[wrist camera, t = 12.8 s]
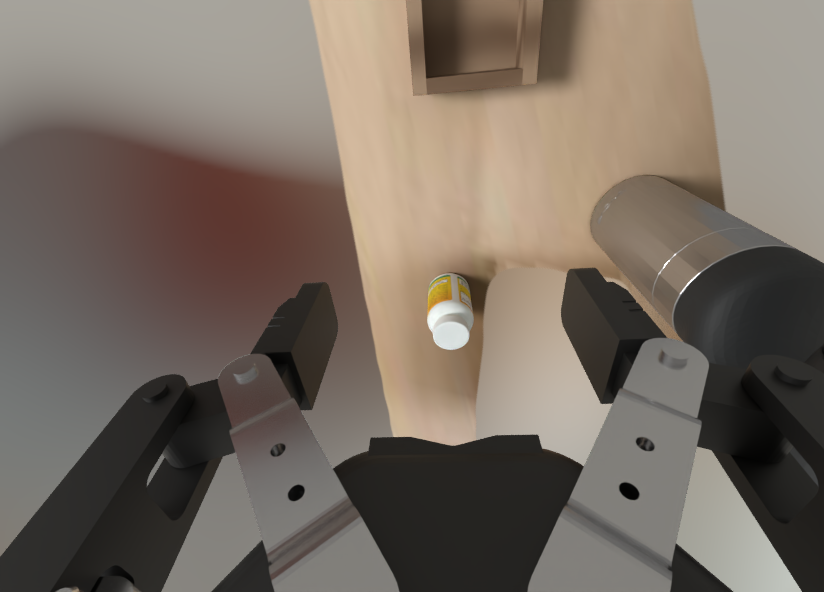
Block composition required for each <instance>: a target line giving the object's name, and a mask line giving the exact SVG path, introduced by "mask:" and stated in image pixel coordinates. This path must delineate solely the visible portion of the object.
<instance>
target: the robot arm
mask: <svg viewBox="0 0 824 592" xmlns="http://www.w3.org/2000/svg"><path fill="white" fill-rule="evenodd" d="M591 233H592V236H593V238H594V240H595V241H596V243H597V244H598V245H599V246H600V248H601V249H602V250H603V251H604V252H605V253H606V254H607V255H608V257H609V258H610V259H611V260H612V261H613V262H614V264H615V265H616V266H617V267H618V268H619V269H620V270H621V271H622V273H623V274H624V275H625V276H626V277H627V278H628V279H629V280H630V282H631V283H632V284H633V285H634V286H635V287H636V288H637V289H638V291H639V292H640V293H641V294H642V295H643V296H644V297H645V298H646V300H647V301H648V302H649V303H650V304H651V305H652V306H653V307H654V309H655V310H656V311H657V312H658V313H659V314H660V315H661V316H662V317H663V318H664V320H665V321H666V322H667V323H668V324H669V325H670V326H671V327H672V329H673V330H674V331H675V332H676V333H677V334H678V336H679V337H680V338H681V339H682V340H683V341H684V342H681V341H678V340H675V339H669V338H667V337H666V336H665V335H664V334H663V332H662V331H661V330H660V329H659V328H658V326H657V325H656V324H655V323H654V322H653V320H652V319H651V318H650V317H649V316H648V314H647V313H646V312H645V311H643V308H642V307H641V306H640V305H639V304H638V303H636V300H635V299H634V298H633V296H632V295H631V294H630V293H629V292H628V290H626V289H624V288H622V287H621V286H619V285H617V284H616V283H614V282H606V280H605V279H604V278H603V276H602V275H601V274H600V273H599V271H598V270H597V269H596V268H579V269H570V270H569V271H568V273H567V277H566V283H565V289H564V295H563V302H562V308H561V317H562V323H563V327H564V329H565V331H566V333H567V335H568V337H569V339H570V341H571V343H572V345H573V347H574V349H575V351H576V353H577V355H578V357H579V359H580V362H581V364H582V366H583V368H584V370H585V372H586V374H587V376H588V378H589V380H590V382H591V384H592V386H593V388H594V390H595V392H596V394H597V396H598V398H599V400H600V403H601V404H609V403H610V404H611V403H613V404H612V407H611V409H610V411H609V413H608V415H607V418H606V420H605V422H604V424H603V426H602V428H601V431H600V433H599V435H598V437H597V439H596V441H595V444H594V446H593V448H592V450H591V452H590V455H589V457H588V459H587V461H586V463H585V465H584V466H582V465H581V464H579V463H578V462H576V461H574V460H572V459H570V458H568V457H566V456H564V455H561V454H559V453H556V452H553V451H550V450H547V449H542V447H541V444H540V440H539V436H538V435H499V436H498V435H496V436H492V437H488V438H484V439H480V440H476V441H472V442H468V443H465V444H461V445H456V446H450V445H445V444H440V443H436V442H431V441H427V440H422V439H417V438H413V437H387V438H386V437H382V438H371V439H370V446H369V451H367V452H363V453H360V454H358V455H356V456H353V457H351V458H349V459H347V460H345V461H344V462H342V463H341V464H339V465H338V466H336V467H335V468H332V466H331V465H330V463H329V461H328V459H327V457H326V455H325V454H324V452H323V450H322V448H321V447H320V445H319V443H318V441H317V439H316V437H315V435H314V434H313V432H312V430H311V428H310V426H309V425H308V423H307V421H306V419H305V417H304V415H303V414H302V412H301V410H312V408H313V405H314V402H315V399H316V396H317V394H318V391H319V388H320V384H321V382H322V379H323V376H324V373H325V370H326V367H327V364H328V361H329V358H330V355H331V351H332V349H333V346H334V343H335V340H336V337H337V332H338V322H337V317H336V313H335V309H334V305H333V302H332V297H331V293H330V289H329V286H328V284H327V283H326V282H319V283H304V284H303V285H302V287H301V289H300V290H299V292H298V294H297V296H296V298H290V299H288V300H287V301H286V302H285V303H283V304H282V305H281V306H280V307H278V309H277V311H276V312H275V314H274V316H273V319H271V321H270V322H269V324H268V328H266V329H265V331H264V332H263V334H262V336H261V337H260V339H259V341H258V342H257V344H256V346H255V347H254V349H253V350H252V352H251V354H250V355H246V356H242V357H240V358H238V359H236V360H234V361H232V362H231V363H229V364H228V365H227V366H226V367H225V368H224V369H223V370H222V371H221V373H220V375H219V377H218V379H215V380H211V381H208V382H204V383H200V384H196V385H193V386H189V385H188V383H187V381H186V380H185V378H184V377H182V376H180V375H176V374H171V375H165V376H161V377H158V378H156V379H153V380H151V381H149V382H148V383H146V384H144V385H142V386H141V387H140V388H139V389H137V390H136V391H135V392H134V393H133V394H132V395H131V396H130V398H129V399H128V400H127V401H126V403H125V404H124V405H123V406H122V407H121V409H120V410H119V411H118V412H117V414H116V415H115V416H114V417H113V418H112V420H111V421H110V422H109V423H108V425H107V426H106V427H105V428H104V430H103V431H102V432H101V433H100V434H99V436H98V437H97V438H96V440H95V441H94V442H93V443H92V444H91V446H90V447H89V448H88V449H87V451H86V452H85V453H84V454H83V456H82V457H81V458H80V459H79V461H78V462H77V463H76V464H75V465H74V467H73V468H72V469H71V470H70V471H69V473H68V474H67V475H66V477H65V478H64V479H63V480H62V481H61V483H60V484H59V485H58V486H57V487H56V489H55V490H54V491H53V492H52V494H51V495H50V496H49V497H48V499H47V500H46V501H45V502H44V503H43V505H42V506H41V507H40V508H39V510H38V511H37V512H36V513H35V515H34V516H33V517H32V518H31V520H30V521H29V522H28V523H27V525H26V526H25V527H24V528H23V529H22V531H21V532H20V533H19V534H18V536H17V537H16V538H15V539H14V540H13V542H12V543H11V544H10V546H9V547H8V548H7V549H6V551H5V552H4V553H3V554H2V555H1V557H0V592H161V591H162V589H163V587H164V584H165V582H166V580H167V578H168V576H169V573H170V571H171V569H172V567H173V565H174V563H175V560H176V558H177V556H178V554H179V552H180V549H181V547H182V545H183V543H184V541H185V538H186V536H187V534H188V532H189V530H190V527H191V525H192V523H193V521H194V519H195V516H196V514H197V512H198V510H199V507H200V505H201V503H202V501H203V499H204V496H205V494H206V492H207V490H208V488H209V486H210V483H211V481H212V479H213V477H214V475H215V473H216V470H217V468H218V466H219V464H220V462H221V459H222V457H223V456H225V455H229V454H232V453H235V452H236V456H237V459H238V462H239V465H240V468H241V472H242V475H243V478H244V481H245V485H246V488H247V492H248V495H249V498H250V501H251V505H252V508H253V511H254V514H255V518H256V521H257V524H258V527H259V531H260V534H261V537H262V541H261V542H260V543H259V544H258V545H257V546H256V547H255V548H254V549H253V550H252V551H251V552H250V553H249V554H248V555H247V556H246V557H245V558H244V559H243V560H242V561H241V562H240V563H239V564H238V565H237V566H236V567H235V568H234V569H233V570H232V571H231V572H230V573H229V574H228V575H227V576H226V577H225V578H224V580H222V581H221V582H220V583H219V585H217V587H216V588H215V589H214V590H213V591H212V592H733V591H732V590H731V589H729V588H728V587H727V586H726V585H725V584H724V583H722V582H721V581H720V580H719V579H718V578H716V577H715V576H714V575H713V574H712V573H710V572H709V571H708V570H707V569H706V568H705V567H703V566H702V565H701V564H700V563H699V562H697V561H696V560H695V559H694V558H693V557H692V556H690V555H689V554H688V553H687V552H686V551H684V550H683V549H682V548H681V547H680V546H679V545H677V544H676V540H677V535H678V531H679V526H680V521H681V517H682V511H683V508H684V503H685V498H686V494H687V489H688V485H689V480H690V475H691V470H692V466H693V461H694V457H695V452H696V448H697V447H702V448H706V449H709V450H712V451H713V453H714V454H715V456H716V458H717V459H718V461H719V462H720V464H721V465H722V467H723V469H724V470H725V472H726V473H727V475H728V476H729V478H730V480H731V481H732V482H733V484H734V486H735V487H736V489H737V490H738V492H739V494H740V495H741V497H742V498H743V500H744V501H745V503H746V505H747V506H748V508H749V509H750V511H751V512H752V514H753V516H754V517H755V519H756V520H757V522H758V523H759V525H760V527H761V528H762V530H763V531H764V533H765V534H766V536H767V537H768V539H769V541H770V542H771V544H772V545H773V547H774V548H775V550H776V552H777V553H778V554H779V556H780V558H781V559H782V561H783V563H784V564H785V566H786V567H787V569H788V570H789V572H790V573H791V575H792V577H793V578H794V580H795V581H796V583H797V584H798V586H799V588H800V589H801V591H802V592H824V263H822V262H820V261H818V260H817V259H815V258H813V257H811V256H809V255H807V254H805V253H803V252H801V251H799V250H798V249H796V248H794V247H792V246H790V245H788V244H786V243H784V242H782V241H781V240H779V239H777V238H775V237H773V236H771V235H769V234H767V233H765V232H763V231H761V230H759V229H757V228H755V227H753V226H752V225H750V224H748V223H746V222H744V221H742V220H740V219H738V218H737V217H735V216H733V215H731V214H729V213H727V212H725V211H723V210H721V209H720V208H718V207H716V206H714V205H712V204H710V203H708V202H706V201H705V200H703V199H701V198H699V197H697V196H695V195H693V194H691V193H689V192H688V191H686V190H684V189H682V188H680V187H678V186H676V185H675V184H673V183H671V182H669V181H667V180H665V179H663V178H661V177H657V176H653V175H642V176H636V177H633V178H630V179H627V180H624V181H623V182H621V183H619V184H617V185H615V186H614V187H613V188H612V189H610V190H609V191H608V192H607V193H606V194H605V195H604V196H603V197H602V198H601V199H600V201H599V202H598V204H597V206H596V207H595V209H594V212H593V214H592V218H591ZM161 454H163V456H164V457H165V458H164V460H163V462H162V463H161V465H160V466H159V468H158V470H157V472H156V473H155V475H154V476H153V478H152V480H151V482H150V483H149V485H148V486H147V479H148V476H149V474H150V472H151V470H152V469H153V467H154V465H155V464H156V462H157V461H158V459H159V457H160V456H161Z"/></svg>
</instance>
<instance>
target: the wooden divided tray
mask: <svg viewBox="0 0 824 592" xmlns="http://www.w3.org/2000/svg"><path fill="white" fill-rule="evenodd" d="M406 8H407V21H408V33H409V46H410V59H411V72H412V85H413V96H416V95H427V94H437V93H447V92H457V91H467V90H477V89H487V88H497V87H507V86H517V85H527V84H536V83H537V71H538V59H539V47H540V35H541V23H542V12H543V0H406Z"/></svg>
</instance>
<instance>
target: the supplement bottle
mask: <svg viewBox="0 0 824 592" xmlns="http://www.w3.org/2000/svg"><path fill="white" fill-rule="evenodd" d="M473 321H474V317H473V310H472V303H471V296H470V289H469V285H468V283H467V282H466V280H465V279H464V278H463V277H461V276H459V275H457V274H453V273H446V274H442V275H440V276H438V277H436V278H435V279H434V280H433V281H432V282H431V283H430V286H429V289H428V326H429V328H430V330H431V331H432V332H433V338H434V341H435V343H436V344H437V345H438V346H440V347H441V348H444V349H448V350H454V349H458V348H461V347H462V346H464V345H465V344H466V343H467V341H468V340H469V331H470V329H471V328H472V325H473Z"/></svg>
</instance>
